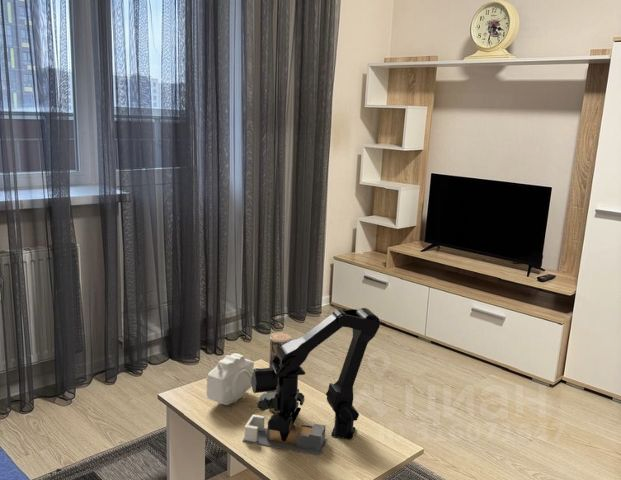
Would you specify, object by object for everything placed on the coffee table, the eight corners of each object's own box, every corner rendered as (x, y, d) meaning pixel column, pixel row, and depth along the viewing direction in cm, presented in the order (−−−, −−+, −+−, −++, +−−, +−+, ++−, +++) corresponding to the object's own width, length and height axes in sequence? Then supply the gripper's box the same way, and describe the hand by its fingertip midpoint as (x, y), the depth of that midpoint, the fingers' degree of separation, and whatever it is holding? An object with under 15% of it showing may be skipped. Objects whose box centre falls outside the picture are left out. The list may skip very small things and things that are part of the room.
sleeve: (301, 436, 175) (302, 421, 174) (324, 440, 174) (325, 425, 173) (296, 448, 169) (297, 432, 168) (320, 452, 168) (321, 436, 167)
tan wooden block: (270, 432, 176) (271, 420, 175) (319, 441, 173) (320, 429, 172) (266, 439, 172) (267, 427, 171) (316, 448, 169) (317, 436, 168)
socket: (252, 427, 179) (252, 414, 178) (264, 429, 178) (264, 416, 177) (244, 439, 172) (244, 426, 171) (256, 442, 171) (256, 428, 170)
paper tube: (286, 414, 188) (288, 341, 182) (265, 411, 189) (267, 339, 183) (291, 404, 194) (293, 333, 188) (271, 401, 195) (273, 331, 190)
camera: (201, 406, 190) (201, 361, 186) (236, 385, 205) (237, 343, 202) (227, 417, 185) (228, 370, 181) (261, 394, 200) (262, 351, 196)
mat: (251, 426, 180) (251, 425, 180) (326, 439, 175) (326, 438, 175) (242, 441, 172) (242, 440, 172) (320, 455, 167) (320, 454, 167)
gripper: (270, 370, 180) (269, 416, 184) (250, 399, 162) (249, 449, 166) (305, 375, 178) (303, 422, 181) (289, 405, 160) (287, 456, 163)
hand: (285, 436), depth 173 cm, fingers closed on tan wooden block, 4 cm apart
